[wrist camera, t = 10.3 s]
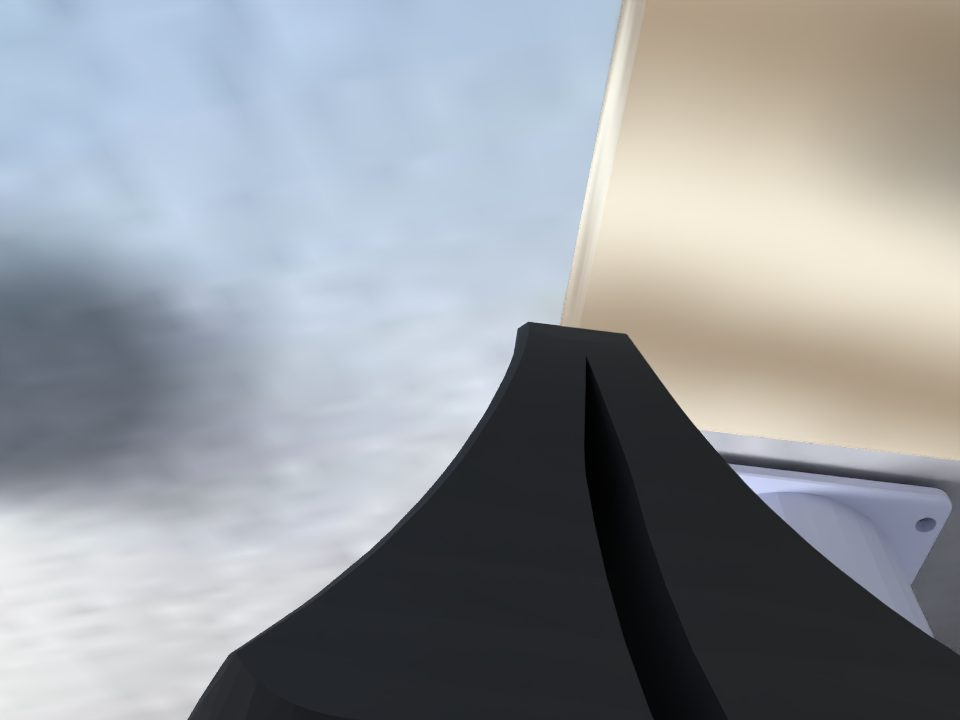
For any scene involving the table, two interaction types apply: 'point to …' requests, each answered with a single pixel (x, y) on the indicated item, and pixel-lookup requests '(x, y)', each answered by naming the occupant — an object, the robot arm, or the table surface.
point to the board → (784, 216)
